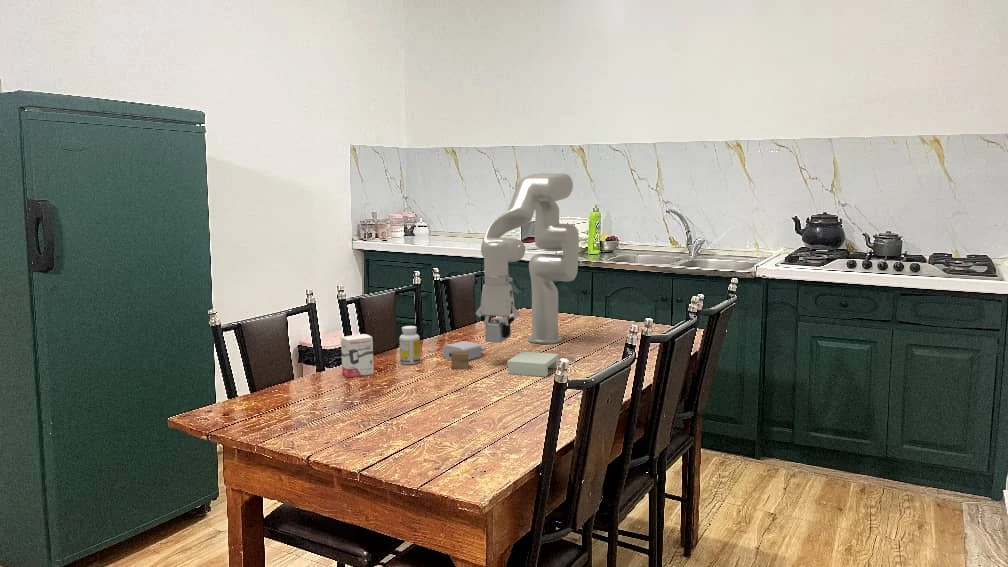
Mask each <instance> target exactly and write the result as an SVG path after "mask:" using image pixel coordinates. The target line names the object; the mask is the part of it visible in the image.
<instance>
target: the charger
mask: <svg viewBox="0 0 1008 567" xmlns="http://www.w3.org/2000/svg"><path fill="white" fill-rule="evenodd" d="M486 349H487V345H484V344H483V343H482V344H480V343H476V342H473V341H472V342H471V341H465V340H463V341H458V342H454V343H448V344H445V345H443V346H442V358H444V359H445V358H446V359H445V360H450V359H451V353H452V351H457V350H468V361H472V360H475V359H477V358H478V359H480V358H481V357H482V352H483V351H486Z"/></svg>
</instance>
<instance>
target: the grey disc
mask: <svg viewBox="0 0 1008 567" xmlns="http://www.w3.org/2000/svg"><path fill="white" fill-rule="evenodd" d="M563 357H565V358H567V359H568V360H569V361H570V360H571V361H573V362H575V358H574V357H573V356H560V357H559V359H560V358H563ZM559 359H558V360H559Z"/></svg>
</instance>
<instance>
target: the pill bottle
mask: <svg viewBox="0 0 1008 567" xmlns="http://www.w3.org/2000/svg"><path fill="white" fill-rule="evenodd" d="M401 331H402V334H401V335H400V336H399V338H398V340H399V361H400V363H401V364H404V365H415V364H419V363H420V362H421V339H420V337H421V336H420V335H419V334H418V333H417V326H415V325H405V326H402V327H401Z"/></svg>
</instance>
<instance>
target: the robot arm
mask: <svg viewBox="0 0 1008 567" xmlns="http://www.w3.org/2000/svg"><path fill="white" fill-rule="evenodd" d="M573 187H574V183H573V179H572V177H571V176H570V175H569V174H567V173H532V174H529V175H527V176H525V177H522V178H521V179H520V180H519V181H518V183H517V185H516V187H515V190H514V193H513V195H512V197H511V198H512V199H511V201H510V204H509V206H508V208H507V210H506V211H505V212H504V213H502V214H501V215H499V216H498V217H497V218H496V219H494V220H493V221H492V222H491V223H490V224H489V226H488V227H487V229H486V231H485V234H484V236H483V239H482V242H481V246H480V247H481V248H480V254H481V256H482V258H484V259H483V261H484V262H483V264H484V265H483V266H484V270H483V271H484V284H483V285H482V289H481V299H480V306H479V307H478V309H477V310H476V312H475V315H476V316H478V317H479V319H480V320H481V321H482V322H483V324H484V325H485V326H486V325H487V323H489V322H490V321H492V317H500V318H503V319H504V322H505V326H504V338H507V337H508V336H509V335H510V328H511V324H513V322H514V321H515V320H516V319H518V318H519V317H520V314H521V313H520V312H519V310H518V309H517V308H516V307H515V306H516V305H515V296H514V292H513V286H512V284H511V283H510V282H512V283H513V277H510V274H509V263H516V262H519V261H521V260H522V259H523V258H524V256H525V255H526V254H525V252H526V246H525V244H524V242H523V241H522V240H521V239H519V238H511V237H510V238H509V237H502V236H503V235H505V234H507V233H509V232H511V231H513V230H515V229H519V228H521V227H523V226H526V225H528V224H529V223H530V222H532V219H533V217H534V214H535V220H534V222H535V224H534V243H535V247H536V248H538V249H539V250H540V249H541V250H547V251H562V254H561V253H560V254H559V253H556V254H555V253H537V254H534V255H533V256H531V258H530V259H529V262H528V270H529V271H528V272H529V276H530V282H531V335H529V336H528V337H527V341H528V342H529V343H533V344H543V345H545V344H547V345H548V344H557V343H561V342H562V341H563V336H561V335H559V291H558V287H557V286H556V285H555V283H554V282H572V281H575V279H576V277H577V274H578V270H579V268H578V267H579V250H580V248H579V247H580V236H579V231H578V228H577V227H576V226H575V225H574V224H572V223H560V208H559V206H558V203H557V202H558V201H561V200H564V199H568V197H570V196H571V195H572V192H573V189H574V188H573ZM511 315H512V316H511ZM507 339H508V338H507Z"/></svg>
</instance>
